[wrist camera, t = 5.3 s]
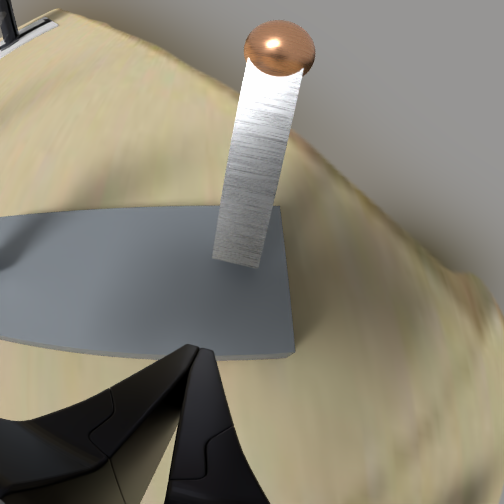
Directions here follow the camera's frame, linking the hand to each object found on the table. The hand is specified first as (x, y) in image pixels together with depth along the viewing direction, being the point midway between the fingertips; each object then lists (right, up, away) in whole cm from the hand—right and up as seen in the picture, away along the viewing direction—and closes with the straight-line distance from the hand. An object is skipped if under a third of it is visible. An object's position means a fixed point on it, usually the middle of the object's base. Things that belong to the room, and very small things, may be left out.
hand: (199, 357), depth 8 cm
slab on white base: (-69, +67, +37) cm, 103 cm away
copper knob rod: (+1, +2, +8) cm, 8 cm away
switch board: (-8, +1, +9) cm, 12 cm away
